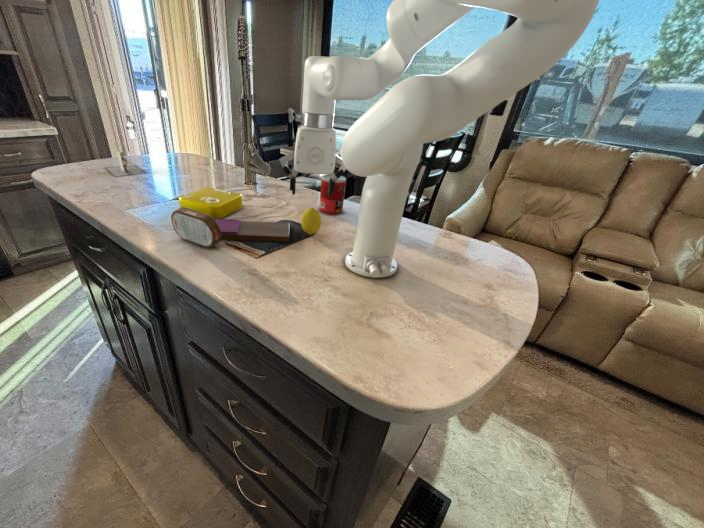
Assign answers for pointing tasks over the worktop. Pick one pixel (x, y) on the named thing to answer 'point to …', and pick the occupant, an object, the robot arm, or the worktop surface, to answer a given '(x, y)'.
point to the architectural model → (124, 167)
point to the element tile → (212, 202)
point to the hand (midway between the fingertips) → (311, 194)
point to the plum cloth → (228, 225)
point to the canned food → (336, 200)
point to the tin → (196, 227)
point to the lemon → (311, 221)
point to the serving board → (260, 232)
